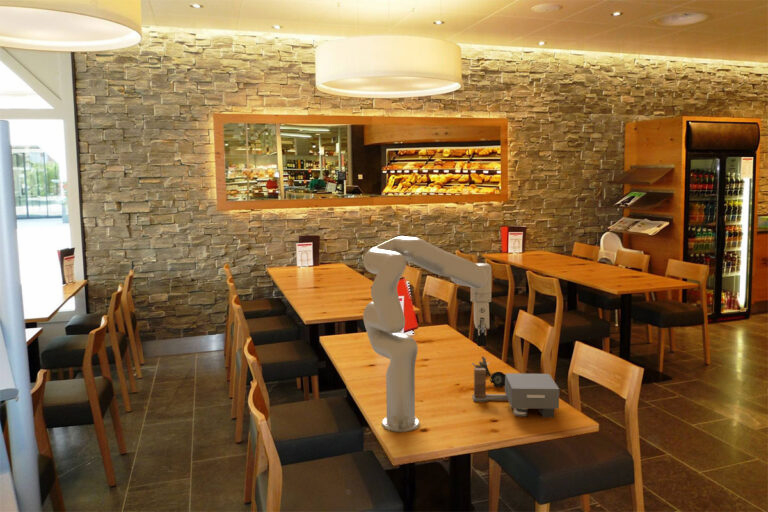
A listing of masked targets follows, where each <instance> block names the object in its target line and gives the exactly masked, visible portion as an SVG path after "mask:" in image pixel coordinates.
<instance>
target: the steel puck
mask: <svg viewBox="0 0 768 512" xmlns="http://www.w3.org/2000/svg"><path fill="white" fill-rule="evenodd" d="M512 409H513V410H512V411H513V415H514V416H516V417H519V418H521V417H527V416H529V408H512Z"/></svg>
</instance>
